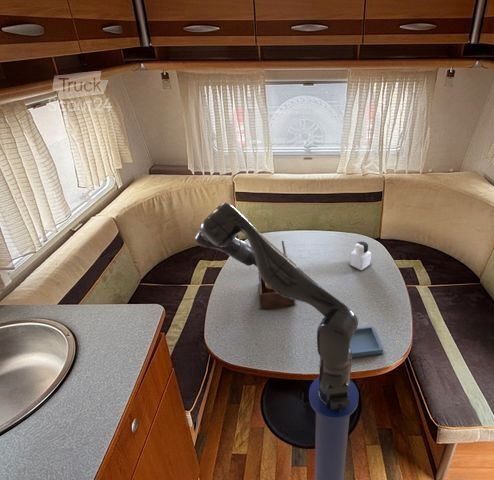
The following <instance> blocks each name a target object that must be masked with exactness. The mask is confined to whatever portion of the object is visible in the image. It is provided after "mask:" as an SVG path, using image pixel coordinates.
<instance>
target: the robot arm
mask: <svg viewBox="0 0 494 480" xmlns="http://www.w3.org/2000/svg"><path fill="white" fill-rule="evenodd" d="M199 227H200V228H199V230H198V231H197V233H196V235H195V237H194V240H195V242H196V245H198V246H200V247H202V248H206V249H211V250H217V251H219V252H222V253H224V254H226V255H227V256H230V257H231V258H232V259H234V260H236V261H238V262H240V263H241V264H243V265H245V266H249V267H250V266H255V267H256V268H257V271H258V272H259V274H260V276H261V278H262V280H263V281H264V282H265V283H267V284H268V285H269V286H270V287H271V288H272V289H273V290H274V291H276V292H277V293H278V294H279V295H281V296H283V297H286V298H289V299H293V300H294V301H299V302H302V303H305V304H307V305H310V306H311V307H312V308H314V309H315V310H317V311H318V312H319V313H320V314H321V315H322V316H323V318H322V320H321V321H320V324H319V325H318V327H317V330H316V348H317V349H316V350H317V353H318V356H319V368H318V369H319V374H318V377H319V398H320V400H321V401H322V402H323V403H324V404H325V405H326V407H327V409H329V408H331V410H333V409H339V412H342V411H343V409H342V408H347V407H349V384H350V380H351V371H352V362H353V361H352V360H353V357H352V350H351V347H350V346H349V345H350V341H351V339H352V337H353V335H354V333H355V331H356V329H357V328H359V319H358V317H357V315H356V314H355V312H354V311H353V310H352V309H351V308H349V307H348V306H347V305H346V304H345V303H343V302H342V301H340V300H339V299H337V298H336V297H335V296H334V295H332V294H331V293H329V292H328V291H327V290H325V289H324V288H323V287H322V286H321V285H320V284H319V283H317V282H316V281H315V280H314V279H312V278H311V276H309V275H308V274H307V273H306V272H304V271H303V269H301V267H299V266H298V265H297V264H296V263H295V262H294V261H293V260H292V259H290V258H289V257H287V256H288V255H287V256H286V255H284V253H283V251H281V250H280V249H279V248H278V247H276V246H275V245H274V244H273V243H271V241H269V240H268V239H267V238H266V237H265V236H264V235H263V234H262V233H261V232H260V231H259V230H258V228H256V227H255V226H254V225H253V224H252V223H251V222H250V221H249V220H248V219H247V218H246V217H245V216H244V215H243V214H242V213H241V212H240V211H239V210H238V209H237V208H236V207H235V206H233V205H231V204H230V203H228V202H222V203H220V204H219V205H217V207H216V208H215V209H214V210H213V211H211V213H209V214H208V215H207V216H206V217H205V218H204V220H203V221H202V222H201V225H200V226H199ZM240 233H242V234H243V235H244V236H245V237H246V239H247V241H248V242H249V243H248V242H247V241H243V240H241V239H239V238H237V236H238V235H239V234H240ZM259 274H258V275H259Z"/></svg>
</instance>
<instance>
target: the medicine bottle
mask: <svg viewBox="0 0 494 480" xmlns="http://www.w3.org/2000/svg"><path fill="white" fill-rule="evenodd" d="M371 259H372V252H371V251H369V244H368V243H367V242H366V241H363V240H362V241H357V242H355V245H354V250H353V251H351V252H350V259H349V265H350V266H352V267H354V268H356V269H358V270H359V271H363V270H365V268H367V267H368V266H370V265H371V261H372V260H371Z"/></svg>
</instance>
